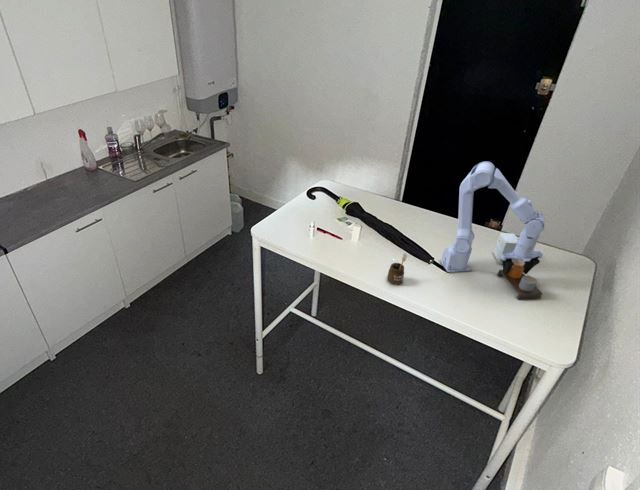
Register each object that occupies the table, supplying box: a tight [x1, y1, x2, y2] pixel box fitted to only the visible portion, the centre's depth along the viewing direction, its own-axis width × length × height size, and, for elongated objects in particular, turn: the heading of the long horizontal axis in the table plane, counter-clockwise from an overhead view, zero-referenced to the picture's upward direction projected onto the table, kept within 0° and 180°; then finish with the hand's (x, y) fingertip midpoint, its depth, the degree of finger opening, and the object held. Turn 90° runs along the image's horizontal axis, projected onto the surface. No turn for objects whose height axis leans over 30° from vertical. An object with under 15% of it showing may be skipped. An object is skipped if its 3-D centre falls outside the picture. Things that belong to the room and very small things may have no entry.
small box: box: [493, 232, 519, 265], centre depth 167 cm, size 8×6×10 cm
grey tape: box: [519, 275, 538, 292], centre depth 150 cm, size 5×5×4 cm
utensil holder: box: [387, 252, 408, 285], centre depth 159 cm, size 6×6×12 cm
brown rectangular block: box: [496, 269, 543, 300], centre depth 155 cm, size 8×15×3 cm, turn 2°
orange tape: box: [508, 262, 524, 278], centre depth 156 cm, size 5×5×4 cm
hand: (514, 273), depth 157 cm, fingers open, 7 cm apart
